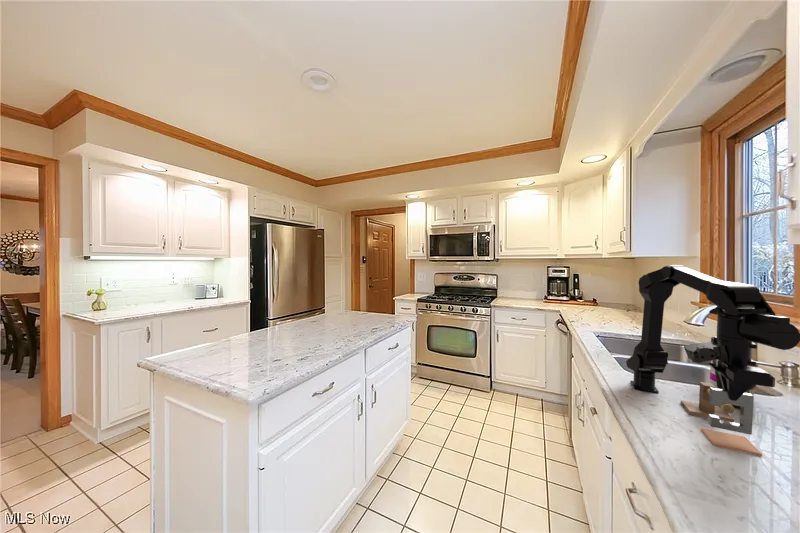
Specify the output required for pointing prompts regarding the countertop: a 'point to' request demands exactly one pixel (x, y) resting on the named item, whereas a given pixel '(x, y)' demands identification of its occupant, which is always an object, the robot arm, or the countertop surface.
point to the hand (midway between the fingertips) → (730, 398)
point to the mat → (731, 441)
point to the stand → (708, 405)
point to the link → (744, 402)
